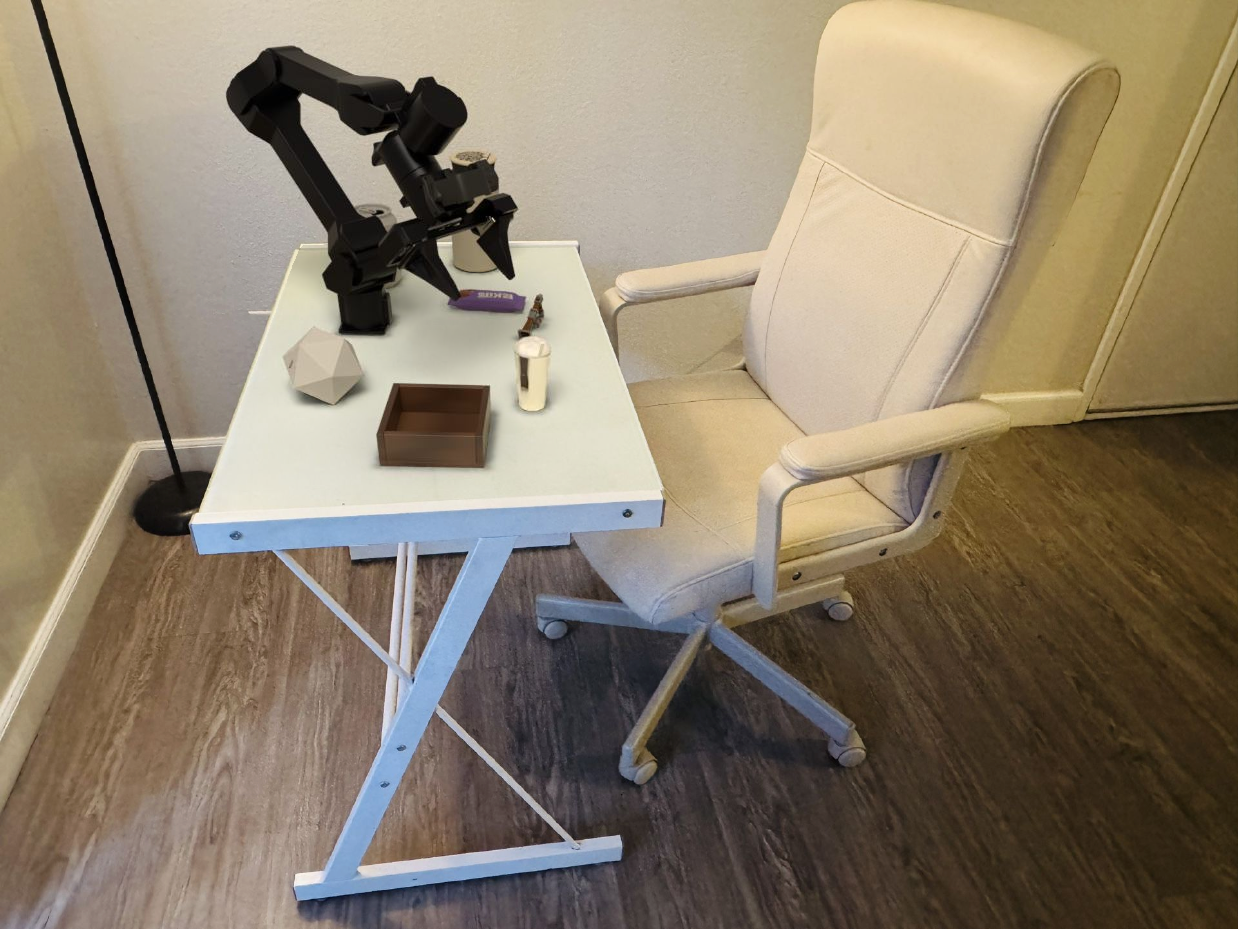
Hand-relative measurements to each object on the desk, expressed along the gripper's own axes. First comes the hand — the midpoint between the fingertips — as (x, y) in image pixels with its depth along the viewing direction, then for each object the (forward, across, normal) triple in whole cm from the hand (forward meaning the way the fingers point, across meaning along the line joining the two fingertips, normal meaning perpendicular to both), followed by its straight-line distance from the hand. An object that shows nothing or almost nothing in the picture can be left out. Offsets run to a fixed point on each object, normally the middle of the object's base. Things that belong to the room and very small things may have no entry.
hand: (486, 288), depth 106 cm
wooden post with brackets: (+5, +16, +15) cm, 22 cm away
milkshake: (+15, 0, +4) cm, 16 cm away
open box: (+13, -13, +6) cm, 20 cm away
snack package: (-3, +17, +22) cm, 28 cm away
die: (+1, -16, +19) cm, 24 cm away
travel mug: (-12, +28, +32) cm, 44 cm away
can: (-16, +11, +36) cm, 41 cm away
